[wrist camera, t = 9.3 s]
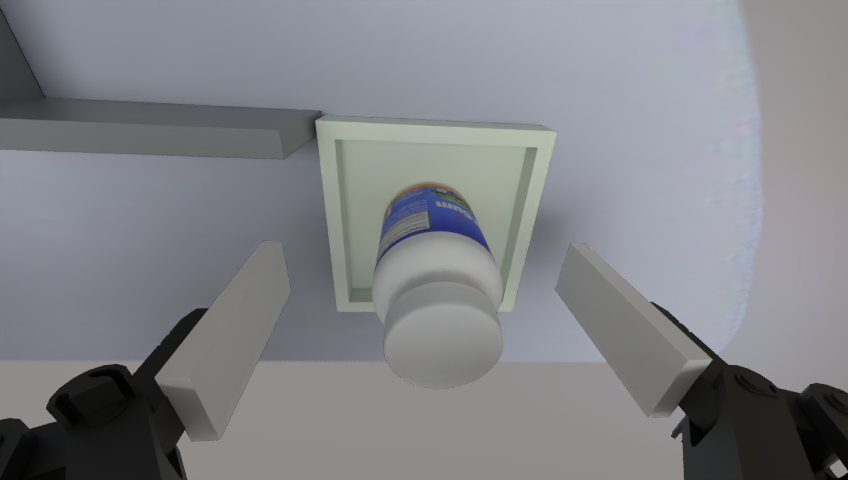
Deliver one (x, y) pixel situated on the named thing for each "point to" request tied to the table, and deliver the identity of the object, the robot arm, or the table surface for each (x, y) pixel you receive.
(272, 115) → the bay
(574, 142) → the table surface
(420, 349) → the pill bottle
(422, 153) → the tray
